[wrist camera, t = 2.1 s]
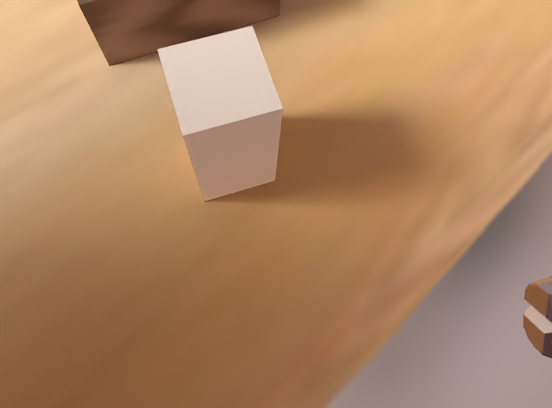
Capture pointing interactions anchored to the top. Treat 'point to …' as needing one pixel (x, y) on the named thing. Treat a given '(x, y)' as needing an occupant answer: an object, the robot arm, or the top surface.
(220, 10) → the walnut block
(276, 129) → the cream block
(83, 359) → the top surface
